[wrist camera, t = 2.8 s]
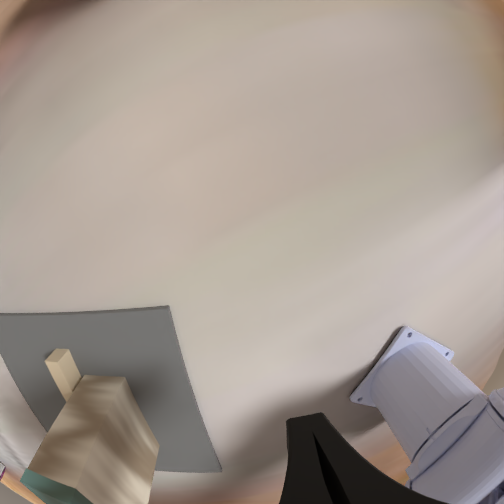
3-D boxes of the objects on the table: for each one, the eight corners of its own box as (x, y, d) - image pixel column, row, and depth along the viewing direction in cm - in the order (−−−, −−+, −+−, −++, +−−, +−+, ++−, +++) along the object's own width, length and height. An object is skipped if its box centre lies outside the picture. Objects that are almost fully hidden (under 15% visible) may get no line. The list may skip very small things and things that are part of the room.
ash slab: (125, 376, 17) (70, 504, 6) (160, 445, 19) (141, 549, 8) (84, 374, 17) (19, 480, 6) (123, 442, 19) (94, 536, 8)
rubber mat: (169, 305, 17) (160, 323, 14) (221, 468, 21) (222, 486, 19) (-13, 313, 16) (-27, 322, 13) (64, 450, 20) (58, 462, 18)
